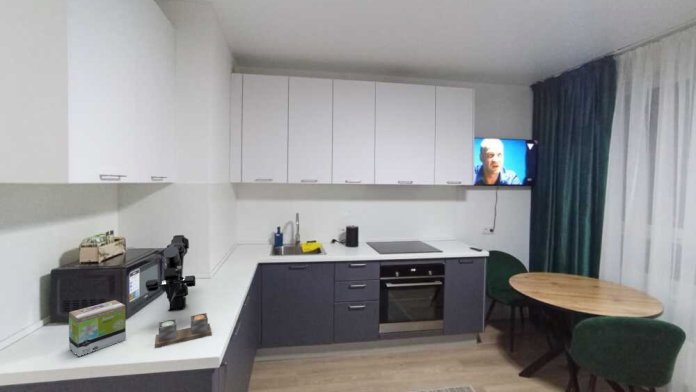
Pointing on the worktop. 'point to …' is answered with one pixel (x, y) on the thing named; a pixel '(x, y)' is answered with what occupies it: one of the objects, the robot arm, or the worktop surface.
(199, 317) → the terracotta button
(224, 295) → the worktop surface
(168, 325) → the sage button
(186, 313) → the worktop surface
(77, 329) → the tea box
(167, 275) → the robot arm
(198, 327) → the button board
